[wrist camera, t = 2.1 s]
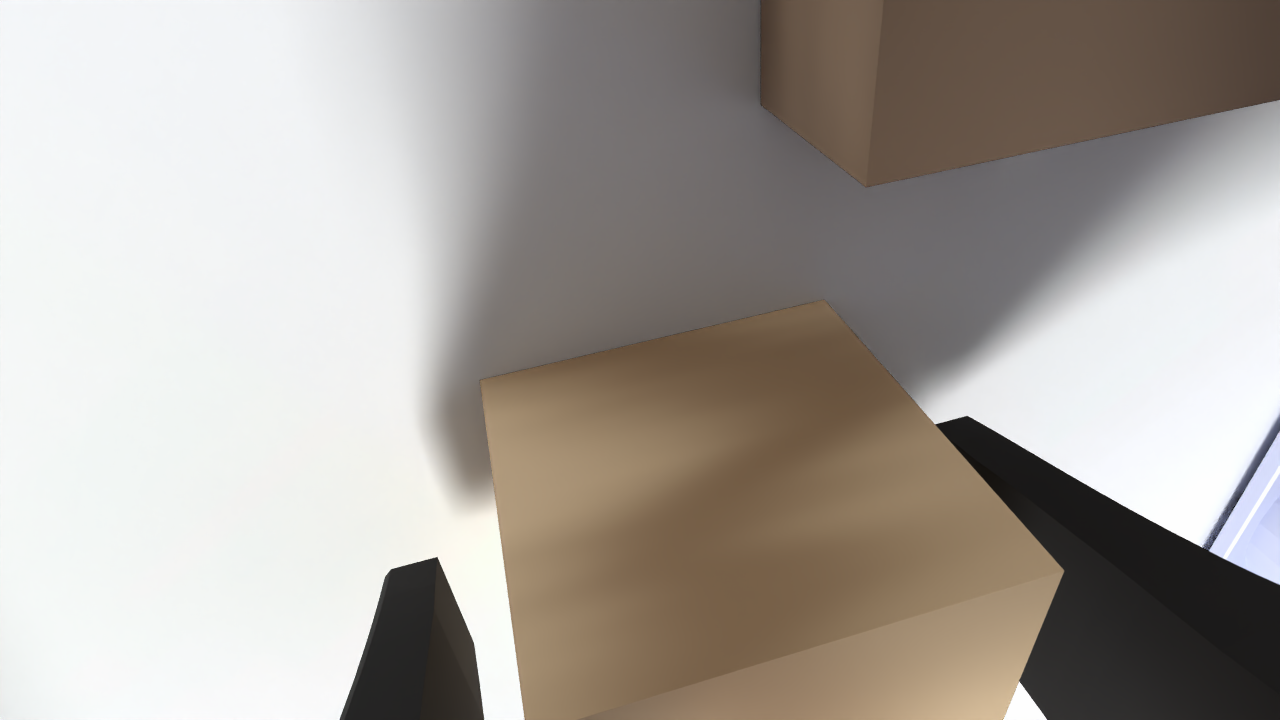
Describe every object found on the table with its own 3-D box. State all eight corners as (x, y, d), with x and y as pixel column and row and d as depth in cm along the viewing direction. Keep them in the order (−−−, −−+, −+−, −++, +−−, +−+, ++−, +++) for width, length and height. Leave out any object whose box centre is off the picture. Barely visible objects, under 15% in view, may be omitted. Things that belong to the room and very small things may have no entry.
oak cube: (821, 296, 11) (1064, 570, 7) (808, 522, 14) (969, 802, 10) (479, 376, 10) (527, 735, 6) (544, 595, 13) (605, 929, 9)
